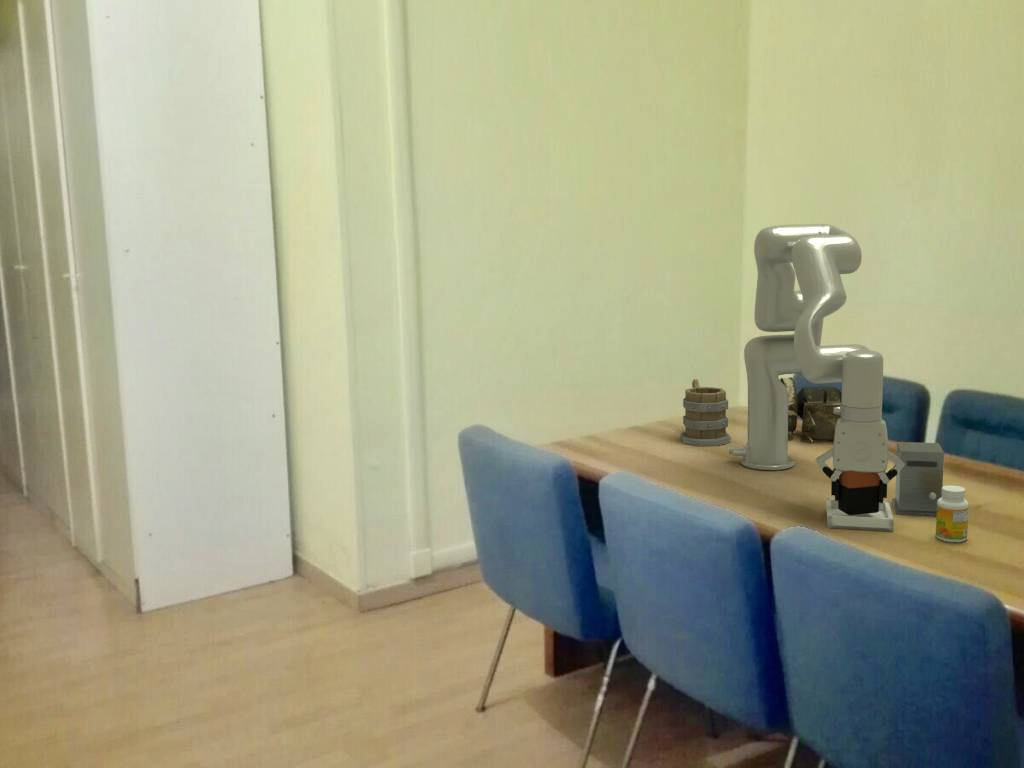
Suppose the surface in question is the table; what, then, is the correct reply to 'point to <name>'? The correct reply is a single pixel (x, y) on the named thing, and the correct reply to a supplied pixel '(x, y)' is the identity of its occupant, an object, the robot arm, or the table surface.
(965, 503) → the supplement bottle
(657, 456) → the table surface
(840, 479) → the battery
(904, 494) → the control box
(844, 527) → the tray
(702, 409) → the tankard
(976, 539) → the table surface
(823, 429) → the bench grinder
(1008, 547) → the table surface
